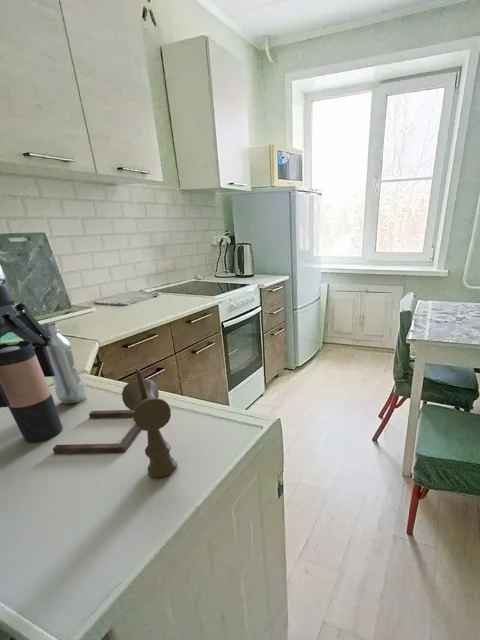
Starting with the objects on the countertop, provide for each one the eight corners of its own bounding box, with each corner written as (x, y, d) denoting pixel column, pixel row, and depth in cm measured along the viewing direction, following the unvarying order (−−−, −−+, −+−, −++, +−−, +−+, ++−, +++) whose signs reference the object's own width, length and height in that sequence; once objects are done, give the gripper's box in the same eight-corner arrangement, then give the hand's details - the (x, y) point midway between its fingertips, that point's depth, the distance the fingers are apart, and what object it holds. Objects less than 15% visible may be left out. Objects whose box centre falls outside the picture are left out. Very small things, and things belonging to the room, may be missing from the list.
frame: (54, 453, 70) (52, 448, 69) (93, 415, 83) (91, 410, 83) (125, 452, 69) (123, 447, 69) (153, 413, 83) (151, 409, 82)
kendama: (171, 451, 69) (149, 355, 60) (188, 478, 62) (165, 373, 53) (140, 462, 66) (111, 364, 57) (153, 492, 59) (122, 384, 50)
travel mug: (40, 446, 72) (1, 355, 64) (14, 440, 75) (-27, 352, 66) (72, 426, 79) (40, 341, 70) (47, 421, 81) (14, 339, 73)
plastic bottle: (74, 408, 87) (45, 329, 78) (53, 405, 89) (23, 328, 80) (94, 396, 92) (70, 321, 83) (75, 393, 94) (49, 320, 85)
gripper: (-63, 298, 51) (-3, 421, 61) (46, 272, 74) (78, 365, 83) (-111, 301, 52) (-44, 423, 61) (12, 274, 74) (48, 366, 84)
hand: (27, 390), depth 72 cm, fingers open, 13 cm apart
